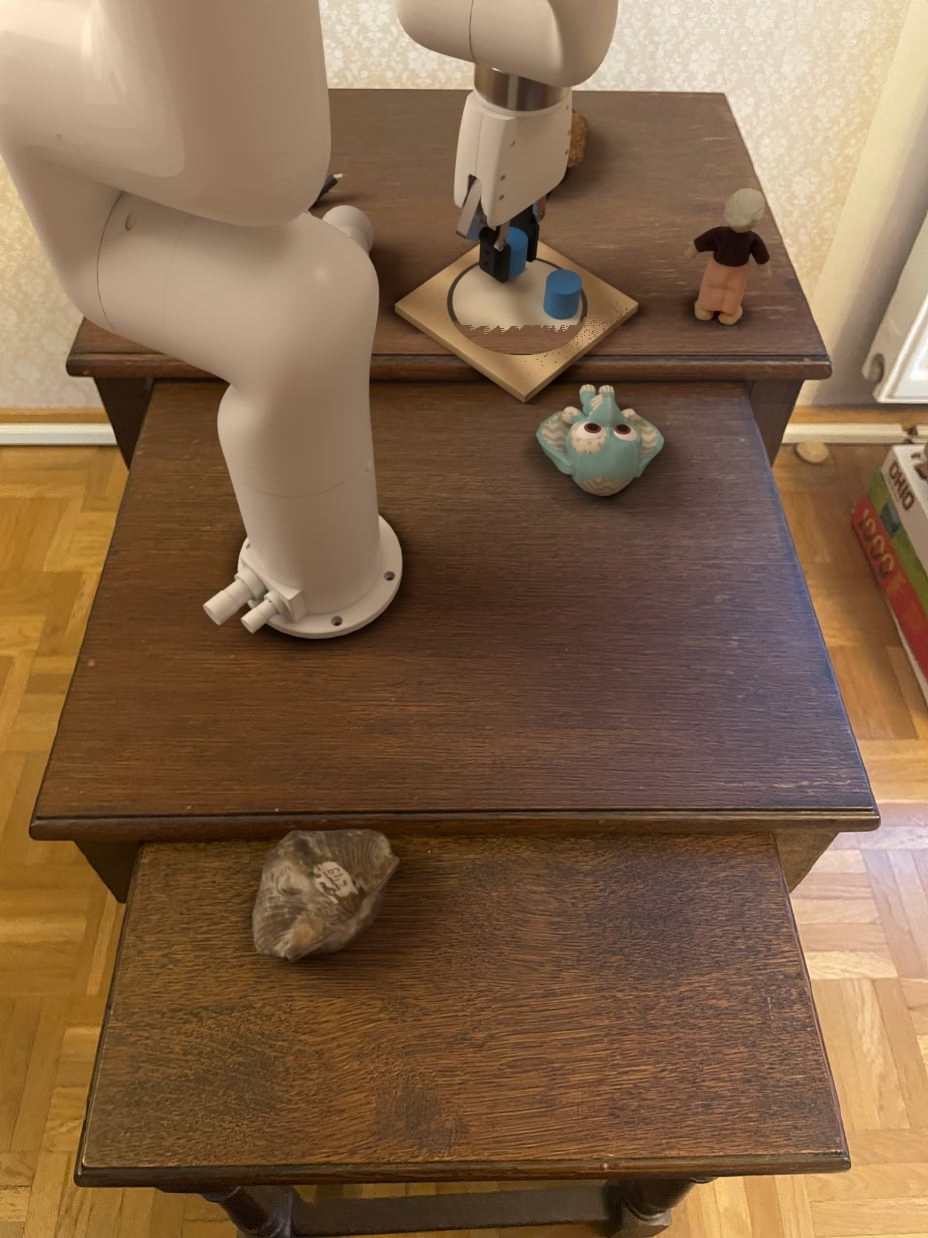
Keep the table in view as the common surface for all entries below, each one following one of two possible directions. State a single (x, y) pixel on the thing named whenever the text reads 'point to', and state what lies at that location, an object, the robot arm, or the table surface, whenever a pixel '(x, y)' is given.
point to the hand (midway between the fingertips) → (507, 262)
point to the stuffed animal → (599, 442)
